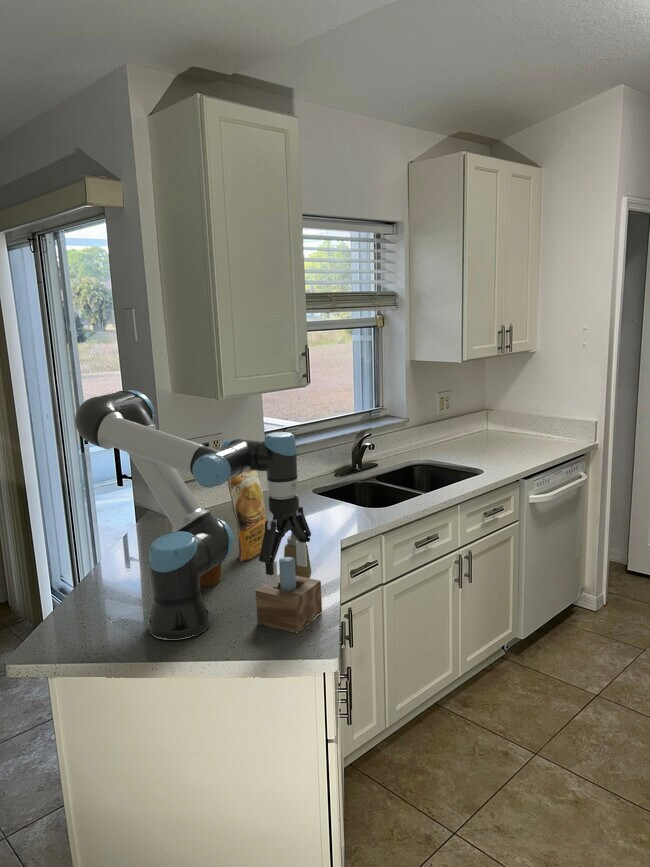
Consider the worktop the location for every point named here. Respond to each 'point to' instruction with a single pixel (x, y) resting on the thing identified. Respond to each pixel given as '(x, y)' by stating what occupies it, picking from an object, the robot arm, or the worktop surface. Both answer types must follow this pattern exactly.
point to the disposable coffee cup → (211, 576)
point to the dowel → (287, 574)
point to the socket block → (289, 604)
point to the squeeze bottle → (291, 552)
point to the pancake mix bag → (248, 512)
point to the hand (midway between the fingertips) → (287, 575)
